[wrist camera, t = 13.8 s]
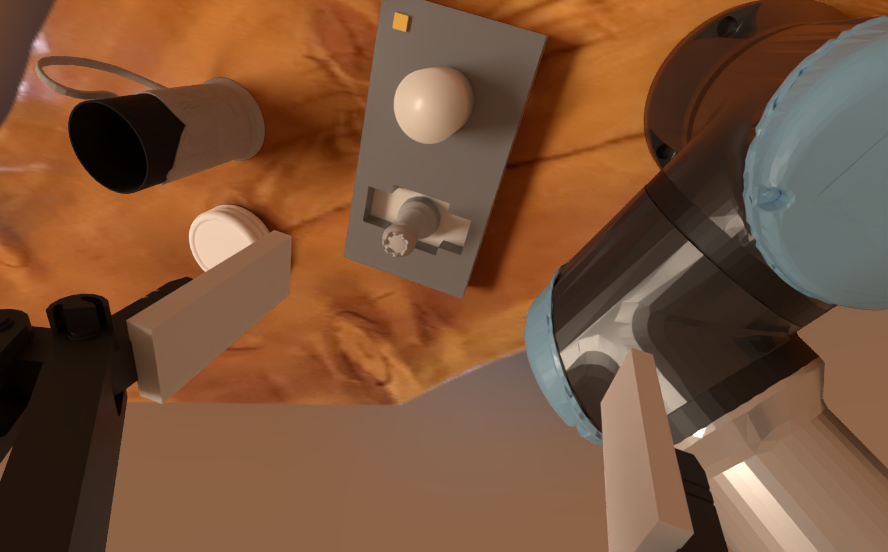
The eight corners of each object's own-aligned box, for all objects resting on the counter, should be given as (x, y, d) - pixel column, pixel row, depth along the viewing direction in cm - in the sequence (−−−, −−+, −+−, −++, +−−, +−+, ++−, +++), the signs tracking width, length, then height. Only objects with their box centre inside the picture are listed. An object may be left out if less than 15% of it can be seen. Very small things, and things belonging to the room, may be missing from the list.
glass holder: (244, 176, 52) (136, 221, 40) (143, 87, 50) (-4, 104, 38) (278, 118, 48) (169, 147, 35) (169, 19, 46) (12, 11, 33)
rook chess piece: (397, 227, 49) (368, 257, 42) (405, 189, 47) (376, 215, 40) (435, 240, 49) (412, 273, 42) (446, 203, 46) (423, 231, 40)
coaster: (208, 190, 55) (187, 199, 52) (282, 222, 54) (265, 233, 51) (204, 257, 60) (185, 269, 57) (271, 287, 59) (255, 301, 56)
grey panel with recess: (548, 35, 38) (542, 35, 31) (467, 286, 51) (451, 324, 45) (396, -9, 40) (358, -19, 33) (355, 246, 53) (322, 277, 46)
